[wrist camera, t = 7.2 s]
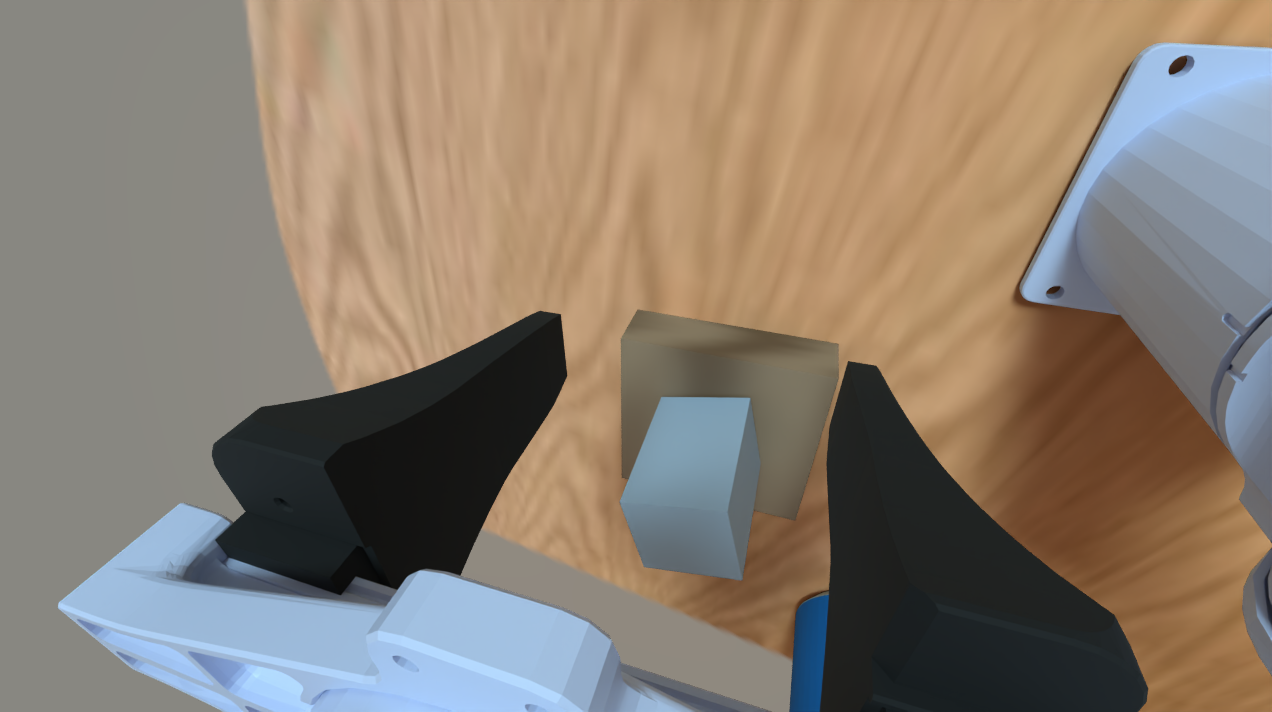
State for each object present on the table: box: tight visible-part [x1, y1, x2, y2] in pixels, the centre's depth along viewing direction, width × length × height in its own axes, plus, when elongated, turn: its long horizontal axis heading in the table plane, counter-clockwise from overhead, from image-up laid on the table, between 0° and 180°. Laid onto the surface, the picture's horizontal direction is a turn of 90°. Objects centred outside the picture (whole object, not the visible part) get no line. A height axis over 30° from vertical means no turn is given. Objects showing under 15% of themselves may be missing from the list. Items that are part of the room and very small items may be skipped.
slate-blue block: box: [620, 397, 761, 580], centre depth 22 cm, size 4×4×6 cm
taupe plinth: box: [621, 310, 839, 520], centre depth 26 cm, size 9×9×3 cm
